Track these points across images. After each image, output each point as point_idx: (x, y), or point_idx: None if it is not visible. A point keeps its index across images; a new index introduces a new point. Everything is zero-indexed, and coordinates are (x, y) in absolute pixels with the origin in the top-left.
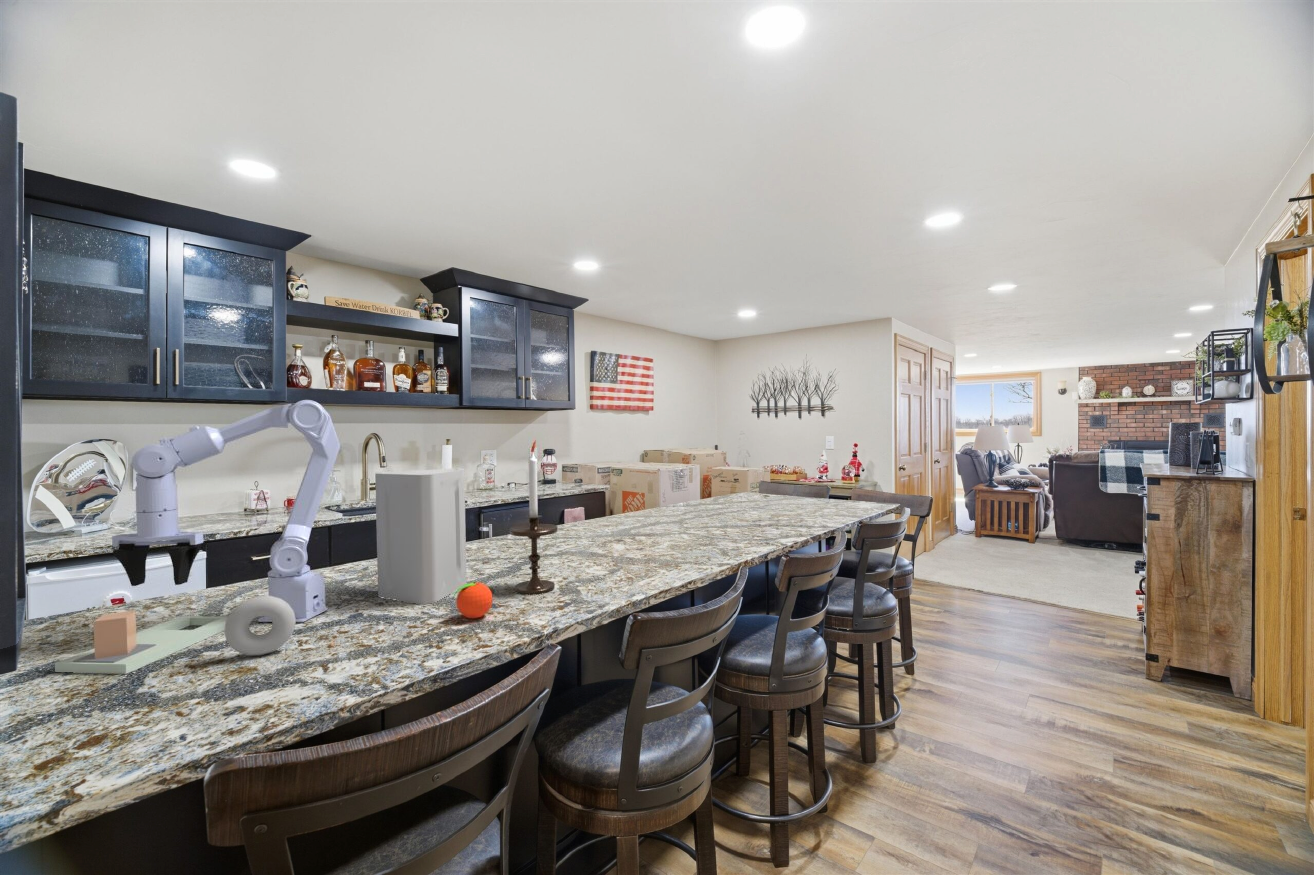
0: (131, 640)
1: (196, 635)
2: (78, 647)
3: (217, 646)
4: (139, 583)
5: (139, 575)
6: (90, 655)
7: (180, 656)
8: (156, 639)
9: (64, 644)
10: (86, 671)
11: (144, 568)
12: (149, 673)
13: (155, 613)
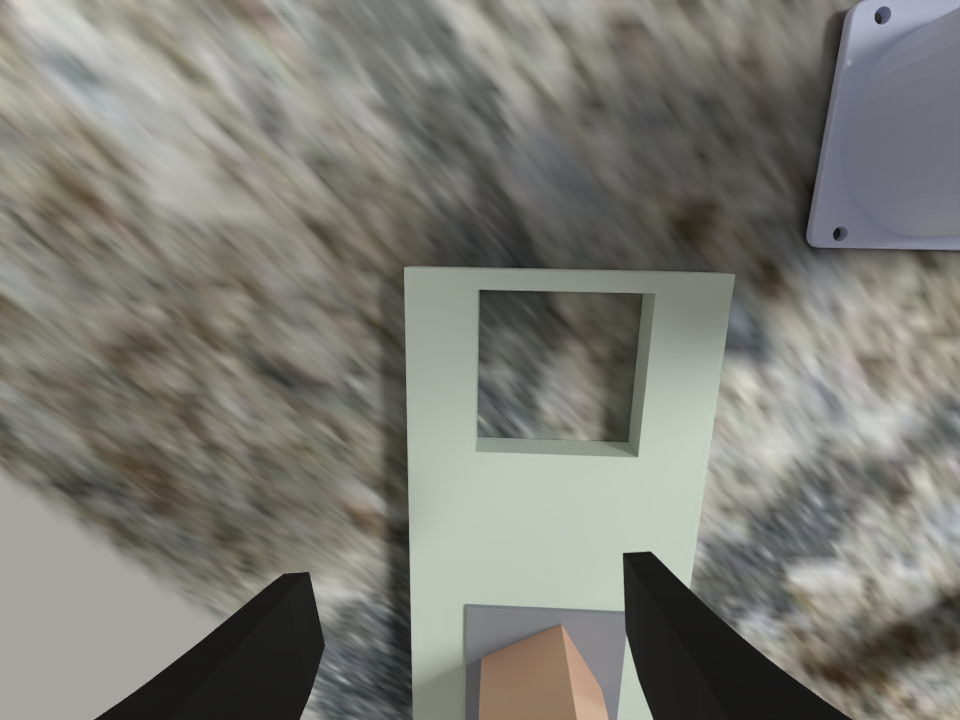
0: (590, 693)
1: (698, 502)
2: (254, 524)
3: (802, 522)
4: (312, 616)
5: (279, 667)
6: (477, 696)
7: (726, 603)
8: (572, 556)
9: (164, 496)
10: None
11: (233, 659)
12: None
13: (116, 100)
